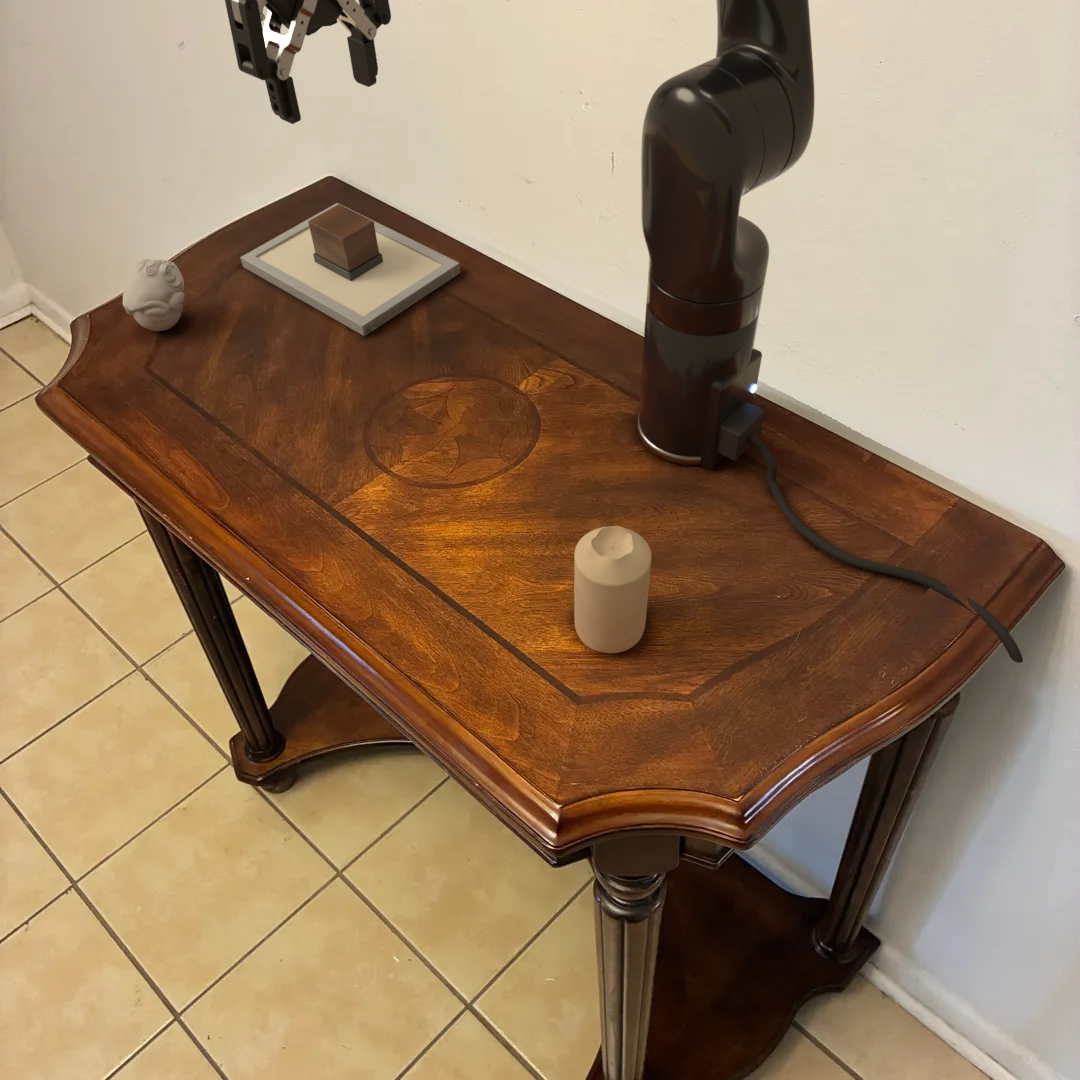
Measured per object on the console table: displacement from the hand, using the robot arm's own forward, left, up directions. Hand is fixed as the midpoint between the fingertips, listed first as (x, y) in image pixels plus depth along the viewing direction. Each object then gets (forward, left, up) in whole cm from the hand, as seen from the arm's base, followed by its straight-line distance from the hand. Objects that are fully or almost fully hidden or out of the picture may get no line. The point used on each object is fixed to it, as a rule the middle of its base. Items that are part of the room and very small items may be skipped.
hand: (329, 101), depth 84 cm
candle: (-42, +14, -24) cm, 51 cm away
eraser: (+10, -6, -23) cm, 26 cm away
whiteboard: (+10, -6, -24) cm, 27 cm away
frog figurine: (+18, +13, -24) cm, 33 cm away
